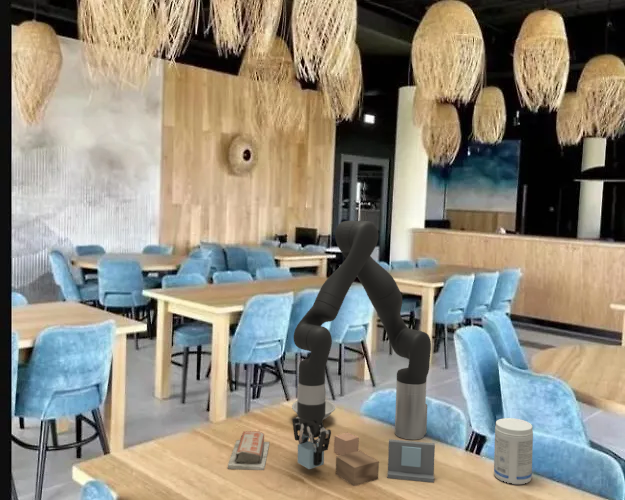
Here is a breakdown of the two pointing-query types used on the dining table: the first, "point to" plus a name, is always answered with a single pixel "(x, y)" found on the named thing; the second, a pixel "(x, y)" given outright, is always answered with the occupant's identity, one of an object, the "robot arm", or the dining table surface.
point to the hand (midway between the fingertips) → (310, 460)
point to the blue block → (307, 455)
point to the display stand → (411, 460)
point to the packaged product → (249, 452)
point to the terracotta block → (345, 443)
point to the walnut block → (357, 468)
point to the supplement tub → (513, 450)
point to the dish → (329, 409)
